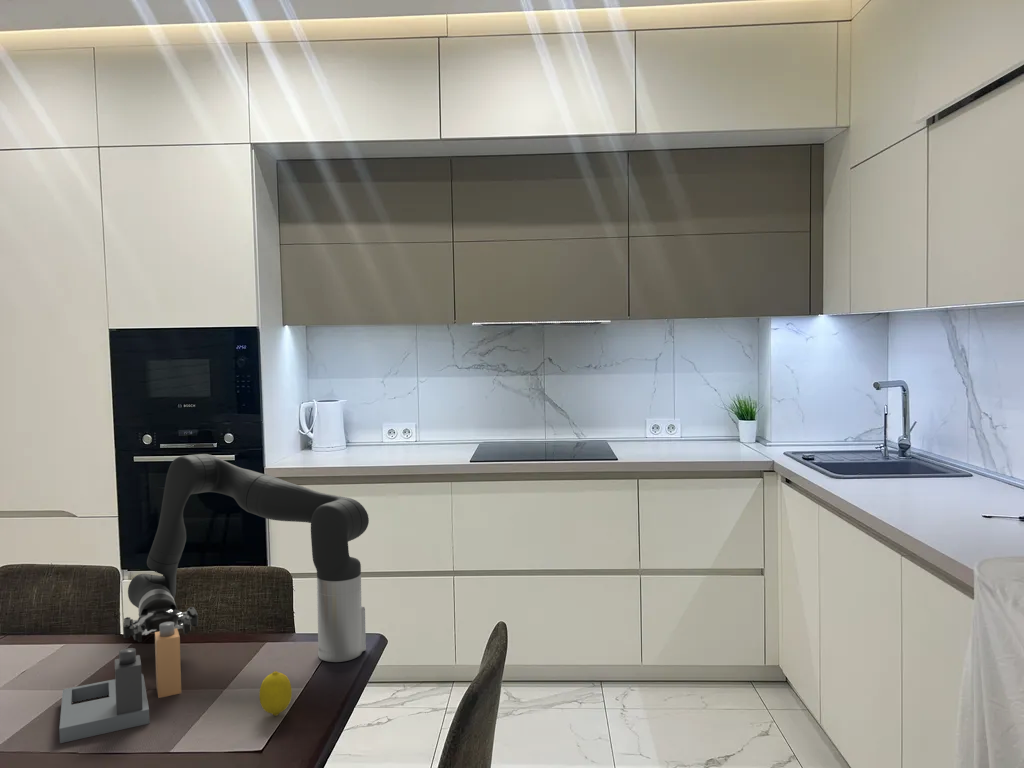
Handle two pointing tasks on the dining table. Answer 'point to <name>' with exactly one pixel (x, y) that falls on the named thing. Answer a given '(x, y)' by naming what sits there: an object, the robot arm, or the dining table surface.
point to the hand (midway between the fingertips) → (163, 633)
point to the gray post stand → (106, 702)
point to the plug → (167, 660)
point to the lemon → (275, 693)
